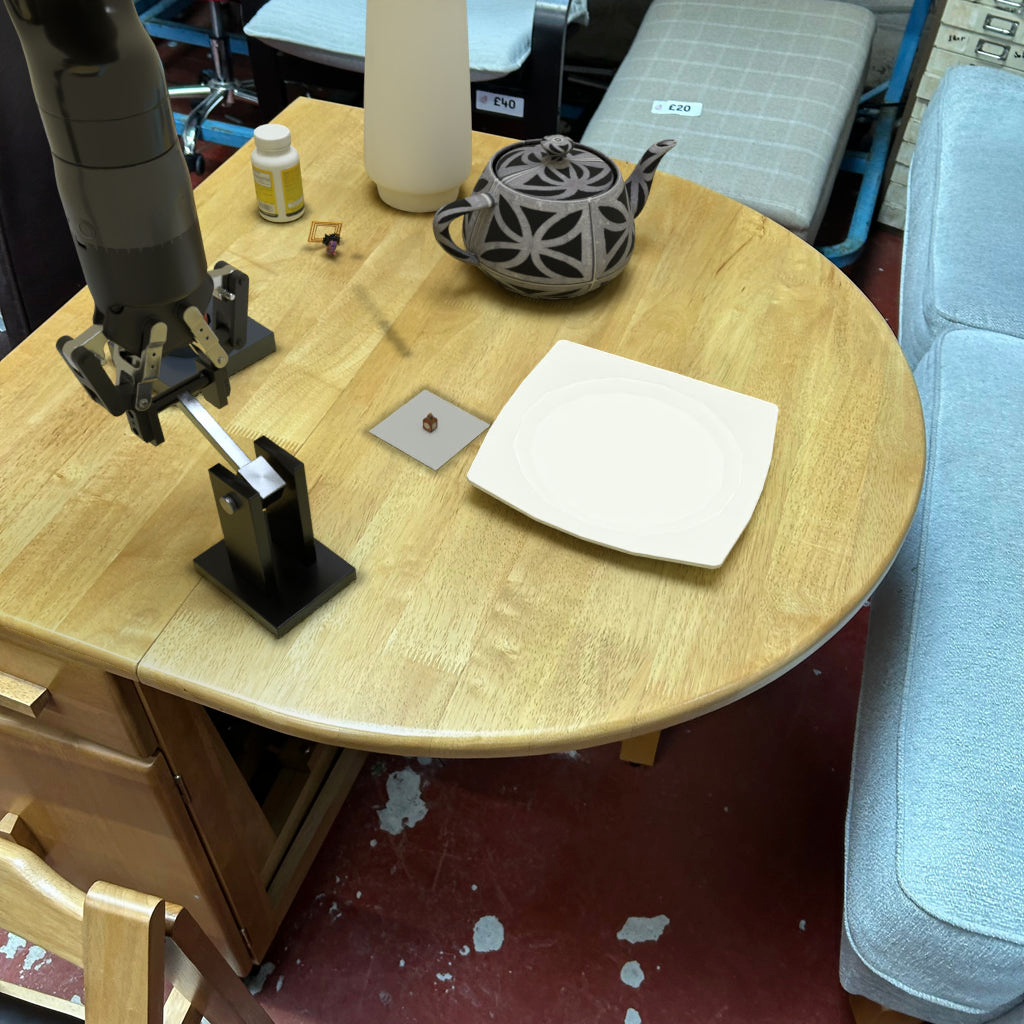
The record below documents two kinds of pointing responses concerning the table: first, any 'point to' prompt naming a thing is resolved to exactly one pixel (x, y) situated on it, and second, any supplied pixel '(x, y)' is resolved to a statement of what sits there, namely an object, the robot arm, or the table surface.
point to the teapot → (551, 216)
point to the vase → (417, 102)
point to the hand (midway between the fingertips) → (184, 420)
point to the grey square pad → (429, 429)
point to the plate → (629, 456)
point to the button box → (182, 359)
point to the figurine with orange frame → (328, 240)
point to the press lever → (221, 437)
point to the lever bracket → (271, 546)
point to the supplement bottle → (277, 174)
